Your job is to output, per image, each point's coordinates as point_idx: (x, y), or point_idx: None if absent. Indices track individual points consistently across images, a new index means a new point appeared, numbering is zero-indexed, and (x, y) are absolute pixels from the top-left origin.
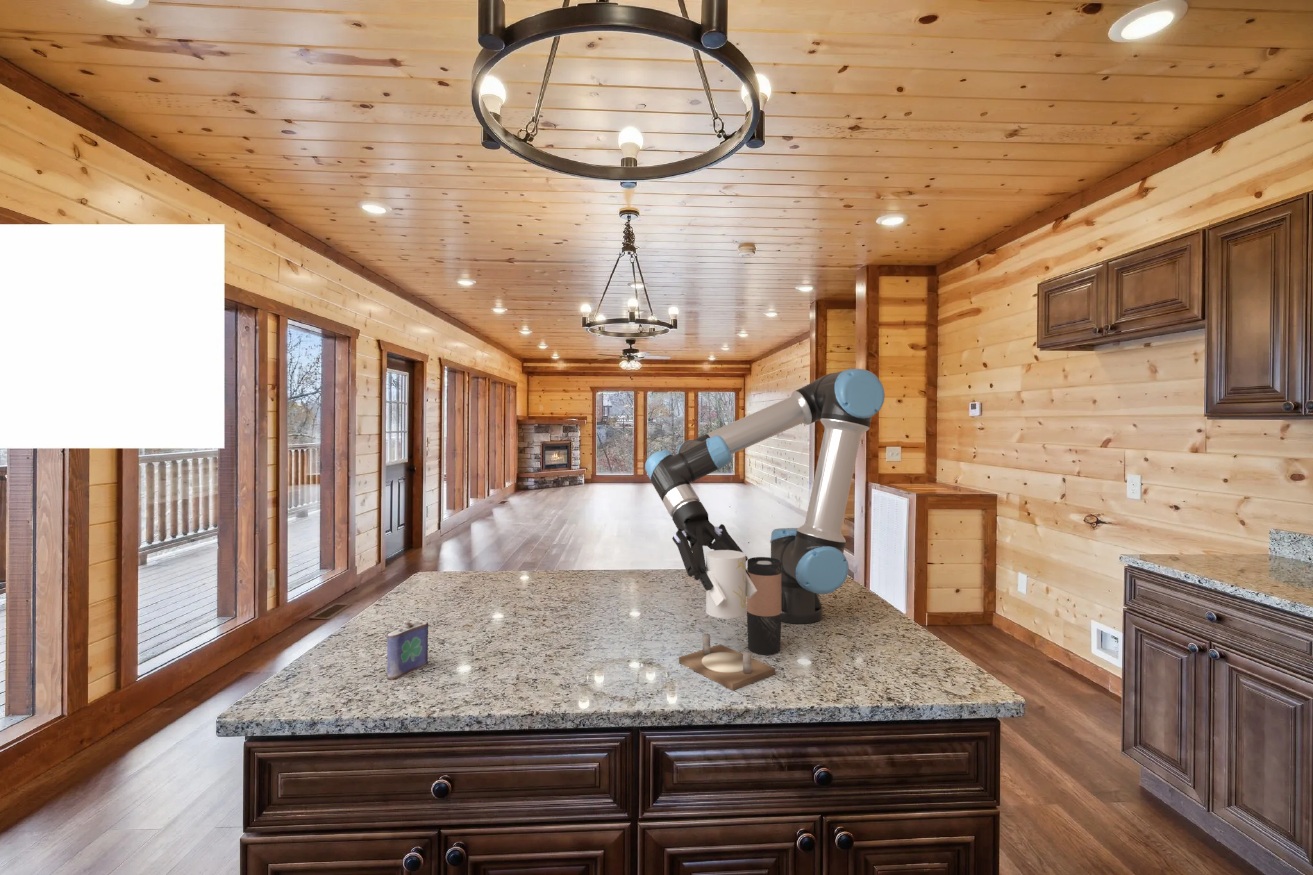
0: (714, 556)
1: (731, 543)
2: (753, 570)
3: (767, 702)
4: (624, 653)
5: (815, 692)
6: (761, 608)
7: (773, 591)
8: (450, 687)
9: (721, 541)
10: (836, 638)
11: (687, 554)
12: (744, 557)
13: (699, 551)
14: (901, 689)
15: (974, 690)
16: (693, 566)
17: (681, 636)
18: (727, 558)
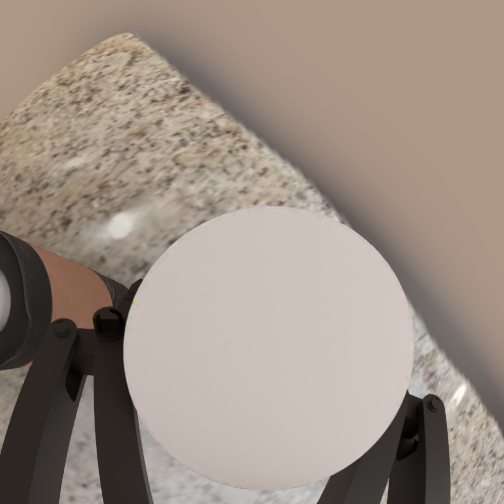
0: (389, 372)
1: (41, 440)
2: (42, 320)
3: (308, 203)
4: (307, 496)
5: (227, 161)
6: (102, 295)
7: (60, 258)
8: (479, 499)
9: (111, 502)
10: (11, 227)
11: (447, 478)
12: (251, 210)
13: (378, 490)
14: (148, 90)
15: (113, 52)
16: (441, 412)
17: (166, 476)
18: (382, 268)
